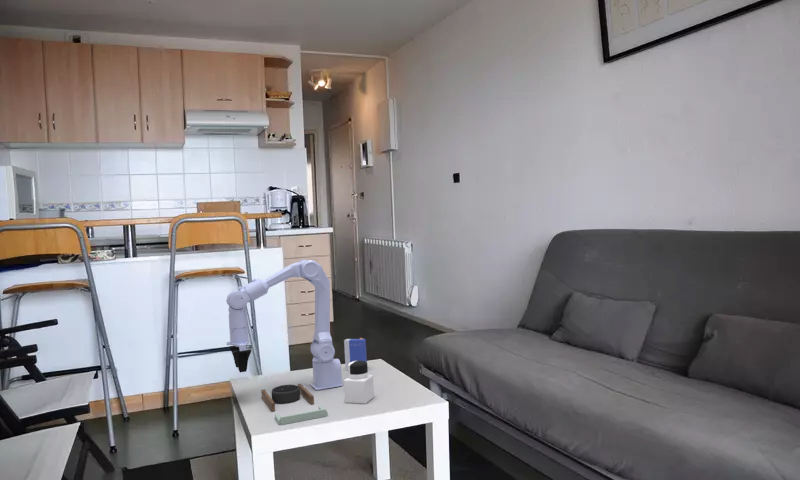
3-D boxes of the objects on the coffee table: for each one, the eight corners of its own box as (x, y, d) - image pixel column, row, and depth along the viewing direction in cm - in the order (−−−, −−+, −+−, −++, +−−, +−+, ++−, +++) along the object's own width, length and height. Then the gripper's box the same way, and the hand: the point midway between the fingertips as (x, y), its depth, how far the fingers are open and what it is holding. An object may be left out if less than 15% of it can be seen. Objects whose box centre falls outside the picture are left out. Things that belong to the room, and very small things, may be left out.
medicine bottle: (374, 397, 178) (372, 359, 178) (365, 404, 171) (363, 364, 171) (353, 396, 180) (351, 358, 180) (344, 403, 174) (342, 364, 173)
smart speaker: (266, 403, 178) (265, 391, 178) (282, 395, 186) (281, 383, 186) (290, 405, 175) (289, 392, 175) (305, 396, 183) (304, 384, 183)
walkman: (367, 369, 215) (365, 337, 215) (365, 370, 212) (363, 339, 212) (347, 369, 217) (346, 338, 217) (345, 370, 214) (343, 339, 214)
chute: (300, 391, 190) (300, 383, 189) (314, 404, 174) (313, 396, 174) (261, 397, 184) (261, 389, 184) (271, 411, 169) (271, 403, 169)
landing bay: (321, 409, 168) (321, 403, 168) (328, 416, 162) (327, 409, 162) (274, 418, 162) (274, 411, 162) (279, 425, 156) (279, 418, 156)
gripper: (223, 326, 188) (225, 366, 188) (228, 332, 174) (231, 376, 174) (244, 323, 190) (247, 363, 191) (251, 329, 177) (254, 372, 177)
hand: (241, 369), depth 183 cm, fingers open, 7 cm apart
